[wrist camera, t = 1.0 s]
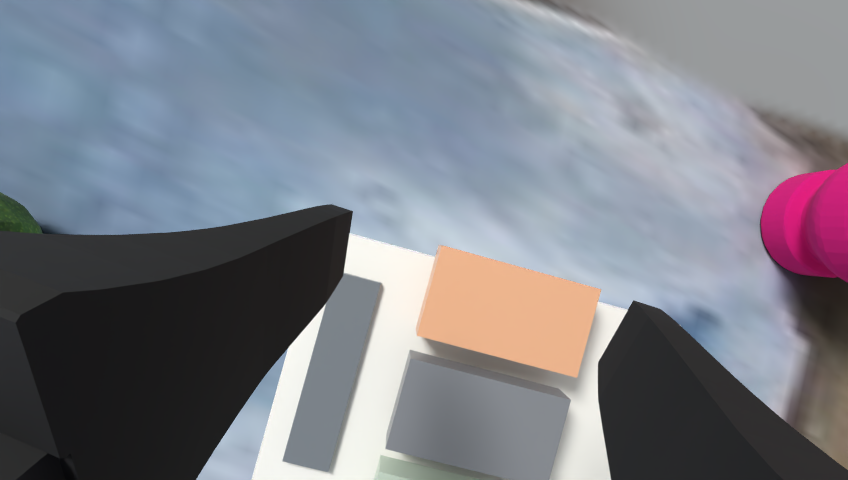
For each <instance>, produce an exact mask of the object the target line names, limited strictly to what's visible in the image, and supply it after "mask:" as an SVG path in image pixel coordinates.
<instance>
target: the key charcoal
mask: <svg viewBox="0 0 848 480" xmlns="http://www.w3.org/2000/svg"><path fill="white" fill-rule="evenodd" d="M570 402H571V399H569V398H568V397H567V396H566V395H565V394H564V393H563V392H562V391H561V390H560V389H559V388H555V387H551V386H547V385H543V384H540V383H536V382H532V381H528V380H524V379H520V378H517V377H513V376H509V375H505V374H501V373H497V372H494V371H490V370H486V369H482V368H478V367H474V366H471V365H467V364H463V363H459V362H455V361H451V360H448V359H444V358H440V357H436V356H432V355H428V354H425V353H421V352H417V351H413V350H409V354H408V358H407V361H406V365H405V368H404V372H403V376H402V379H401V383H400V387H399V390H398V394H397V397H396V401H395V405H394V408H393V412H392V415H391V419H390V423H389V426H388V430H387V434H386V447H385V449H387V450H391V451H395V452H399V453H403V454H407V455H412V456H416V457H420V458H424V459H428V460H432V461H436V462H440V463H444V464H448V465H452V466H456V467H460V468H464V469H469V470H473V471H477V472H481V473H485V474H489V475H493V476H497V477H501V478H505V479H509V480H549V479H550V475H551V472H552V468H553V464H554V461H555V457H556V453H557V450H558V446H559V442H560V439H561V435H562V431H563V428H564V424H565V420H566V417H567V413H568V409H569V406H570Z"/></svg>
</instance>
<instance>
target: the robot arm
mask: <svg viewBox="0 0 848 480" xmlns="http://www.w3.org/2000/svg"><path fill="white" fill-rule="evenodd" d="M352 213H353V211H350V210H347V209H344V208H341V207H338V206H335V205H322V206H316V207H312V208H307V209H303V210H299V211H294V212H290V213H286V214H281V215H277V216H273V217H269V218H264V219H259V220H254V221H248V222H243V223H238V224H233V225H228V226H222V227H215V228H208V229H200V230H191V231H181V232H170V233H150V234H129V235H66V234H39V233H23V232H10V231H0V480H196V478H197V477H198V475H199V474H200V472H201V470H202V469H203V467H204V466H205V464H206V462H207V461H208V459H209V458H210V456H211V454H212V453H213V451H214V450H215V448H216V447H217V445H218V444H219V442H220V441H221V439H222V438H223V436H224V435H225V433H226V432H227V430H228V429H229V427H230V425H231V424H232V422H233V421H234V419H235V418H236V416H237V415H238V413H239V412H240V410H241V409H242V408H243V406H244V405H245V403H246V402H247V400H248V399H249V397H250V396H251V395H252V393H253V392H254V390H255V389H256V387H257V386H258V384H259V383H260V382H261V380H262V379H263V378H264V376H265V375H266V374H267V372H268V371H269V370H270V369H271V367H272V366H273V365H274V364H275V362H276V361H277V360H278V359H279V358H280V357H281V356H282V354H283V353H284V352H285V351H286V350H287V349H288V347H289V346H290V345H291V344H292V343H293V342H294V341H295V339H296V338H297V337H298V336H299V335H300V334H301V332H302V331H303V330H304V329H305V328H306V327H307V326H308V324H309V323H310V322H311V321H312V320H313V318H314V317H315V316H316V315H317V314H318V313H319V311H320V310H321V309H322V308H323V307H324V305H325V304H326V303H327V301H328V300H329V298H330V296H331V295H332V293H333V292H334V290H335V289H336V287H337V285H338V284H339V282H340V280H341V279H342V277H343V274H344V267H345V260H346V253H347V247H348V240H349V233H350V227H351V220H352ZM598 402H599V409H600V416H601V422H602V428H603V434H604V440H605V446H606V452H607V458H608V464H609V470H610V476H611V480H848V470H847V469H845V468H844V467H843V466H841V465H840V464H839V463H837V462H836V461H835V460H833V459H832V458H831V457H829V456H828V455H827V454H826V453H824V452H823V451H822V450H821V449H819V448H818V447H817V446H815V445H814V444H813V443H812V442H810V441H809V440H808V439H806V438H805V437H804V436H803V435H801V434H800V433H799V432H797V431H796V430H795V429H794V428H792V427H791V426H790V425H789V424H788V423H786V422H785V421H784V420H783V419H782V418H780V417H779V416H778V415H777V414H776V413H774V412H773V411H772V410H771V409H770V408H769V407H768V406H766V405H765V404H764V403H763V402H762V401H761V400H760V399H758V398H757V397H756V396H755V395H754V394H753V393H752V392H750V391H749V390H748V389H747V388H746V387H745V386H744V385H743V384H742V383H740V382H739V381H738V380H737V379H736V378H735V377H734V376H733V375H732V374H731V373H730V372H729V371H727V370H726V369H725V368H724V367H723V366H722V365H721V364H720V363H719V362H718V361H717V360H716V359H715V358H714V357H713V356H712V355H711V354H710V353H708V352H707V351H706V350H705V349H704V348H703V347H702V346H701V345H700V344H699V343H698V342H697V341H696V340H695V339H694V338H693V337H692V336H691V335H690V334H689V333H687V332H686V331H685V330H684V329H683V328H682V327H681V326H680V325H679V324H678V323H677V322H676V321H674V320H673V319H672V318H671V317H670V316H668V315H667V314H666V313H665V312H663V311H662V310H661V309H658V308H655V307H652V306H649V305H646V304H643V303H640V302H636V301H633V302H632V304H631V306H630V307H629V309H628V311H627V313H626V314H625V316H624V318H623V320H622V321H621V323H620V325H619V327H618V328H617V330H616V332H615V334H614V335H613V337H612V339H611V341H610V342H609V344H608V346H607V348H606V349H605V351H604V353H603V355H602V357H601V358H600V360H599V362H598Z"/></svg>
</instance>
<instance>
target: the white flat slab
mask: <svg viewBox="0 0 848 480" xmlns="http://www.w3.org/2000/svg"><path fill="white" fill-rule="evenodd" d="M434 260H435V256H432V255H428V254H424V253H421V252H417V251H414V250H410V249H406V248H403V247H399V246H395V245H392V244H388V243H385V242H381V241H377V240H374V239H370V238H366V237H363V236H359V235H356V234H352V233H349V240H348V247H347V253H346V260H345V267H344V274H343V277H342V279H341V280H340V282H339V284H338V285H337V287H336V289H335V290H334V292H333V293H332V295H331V296H330V298H329V300H328V301H327V303H326V304H325V305H324V307H323V308H322V309H321V310H320V311H319V313H318V314H317V315H316V316H315V317H314V318H313V320H312V321H311V322H310V323H309V324H308V326H307V327H306V328H305V329H304V330H303V331H302V332H301V334H300V335H299V336H298V337H297V338H296V339H295V341H294V342H293V343H292V344H291V345H290V346H289V347H288V351H287V355H286V358H285V362H284V365H283V369H282V373H281V376H280V380H279V383H278V387H277V390H276V394H275V398H274V401H273V405H272V408H271V412H270V416H269V419H268V423H267V426H266V430H265V433H264V437H263V441H262V444H261V448H260V451H259V455H258V459H257V462H256V466H255V469H254V473H253V476H252V480H374V477H375V473H376V470H377V466H378V462H379V459H380V455H383V456H387V457H391V458H395V459H399V460H403V461H407V462H411V463H415V464H419V465H424V466H428V467H432V468H436V469H440V470H444V471H448V472H452V473H456V474H460V475H464V476H469V477H473V478H477V479H481V480H509V479H505V478H501V477H497V476H493V475H489V474H485V473H481V472H477V471H473V470H469V469H464V468H460V467H456V466H452V465H448V464H444V463H440V462H436V461H432V460H428V459H424V458H420V457H416V456H412V455H407V454H403V453H399V452H395V451H391V450H387V449H385V447H386V434H387V430H388V426H389V423H390V419H391V415H392V412H393V408H394V405H395V401H396V397H397V394H398V390H399V387H400V383H401V379H402V376H403V372H404V368H405V365H406V361H407V358H408V354H409V350H413V351H417V352H421V353H425V354H428V355H432V356H436V357H440V358H444V359H448V360H451V361H455V362H459V363H463V364H467V365H471V366H474V367H478V368H482V369H486V370H490V371H494V372H497V373H501V374H505V375H509V376H513V377H517V378H520V379H524V380H528V381H532V382H536V383H540V384H543V385H547V386H551V387H555V388H559V389H560V390H561V391H562V392H563V393H564V394H565V395H566V396H567V397H568V398H569V399H571V402H570V406H569V409H568V413H567V417H566V420H565V424H564V428H563V431H562V435H561V439H560V442H559V446H558V450H557V453H556V457H555V461H554V464H553V468H552V472H551V475H550V479H549V480H611V476H610V470H609V464H608V458H607V452H606V446H605V440H604V434H603V428H602V422H601V416H600V409H599V402H598V362H599V360H600V358H601V357H602V355H603V353H604V351H605V349H606V348H607V346H608V344H609V342H610V341H611V339H612V337H613V335H614V334H615V332H616V330H617V328H618V327H619V325H620V323H621V321H622V320H623V318H624V316H625V314H626V313H627V311H628V309H624V308H620V307H617V306H613V305H610V304H606V303H602V302H599V301H598V303H597V307H596V311H595V314H594V318H593V322H592V325H591V329H590V332H589V336H588V340H587V343H586V347H585V351H584V354H583V358H582V362H581V365H580V369H579V373H578V376H577V378H576V377H572V376H568V375H564V374H560V373H557V372H553V371H549V370H545V369H542V368H538V367H534V366H530V365H526V364H523V363H519V362H515V361H511V360H507V359H504V358H500V357H496V356H492V355H488V354H485V353H481V352H477V351H473V350H469V349H466V348H462V347H458V346H454V345H450V344H447V343H443V342H439V341H435V340H431V339H428V338H424V337H420V336H417V334H416V325H417V322H418V318H419V314H420V311H421V307H422V303H423V300H424V296H425V293H426V289H427V285H428V282H429V278H430V275H431V271H432V267H433V264H434Z"/></svg>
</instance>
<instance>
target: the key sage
mask: <svg viewBox="0 0 848 480" xmlns="http://www.w3.org/2000/svg"><path fill="white" fill-rule="evenodd" d="M374 480H481V479H477V478H473V477H469V476H464V475H460V474H456V473H452V472H448V471H444V470H440V469H436V468H432V467H428V466H424V465H419V464H415V463H411V462H407V461H403V460H399V459H395V458H391V457H387V456H383V455H380V459H379V462H378V466H377V470H376V473H375V477H374Z"/></svg>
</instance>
